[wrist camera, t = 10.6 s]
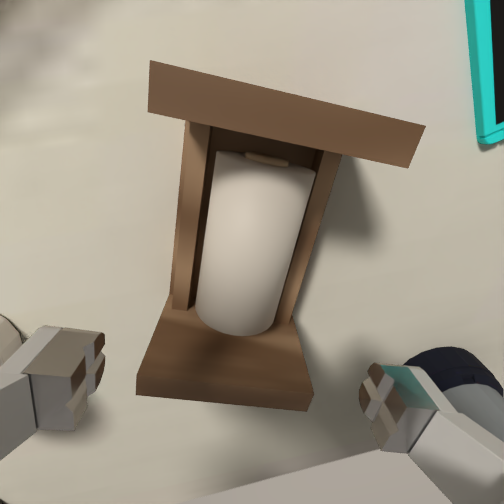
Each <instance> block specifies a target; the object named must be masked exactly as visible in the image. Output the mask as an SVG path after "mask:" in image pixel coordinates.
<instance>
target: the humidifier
mask: <svg viewBox="0 0 504 504" xmlns="http://www.w3.org/2000/svg"><path fill="white" fill-rule="evenodd" d="M404 365H405V366H415V367H420V368H421V369H423V370H424V371H425V372H426V373H427V375H428V376H429V377H430V378H431V380H432V381H433V382H434V383H435V385H436V386H437V387H438V388H439V390H440V391H441V392H442V393H443V395H444V396H445V397H446V398H447V400H448V401H449V402H450V403H451V405H452V406H453V407H454V408H455V410H456V411H457V412H458V413H463V414H464V415H466V416H467V417H469V418H470V419H471V420H473V421H474V422H476V423H477V424H478V425H480V426H481V427H483V428H484V429H486V430H487V431H488V432H490V433H491V434H493V435H494V436H495V437H497V438H498V439H500V440H501V441H503V442H504V398H503V388H502V387H501V385H500V383H499V382H498V381H497V380H496V378H495V377H494V375H493V374H492V373H491V372H490V371H489V370H488V369H487V368H486V367H485V366H484V365H483V364H482V363H481V362H480V361H479V360H478V359H477V358H476V357H475V356H474V355H473V354H472V353H470V352H468V351H466V350H465V349H462V348H456V347H440V348H434V349H431V350H428V351H425V352H422V353H420V354H418V355H416V356H415V357H413V358H411V359H409V360H408V361H407V362H406V363H405V364H404ZM404 365H402V366H404Z"/></svg>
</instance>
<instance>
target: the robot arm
mask: <svg viewBox="0 0 504 504" xmlns="http://www.w3.org/2000/svg"><path fill="white" fill-rule="evenodd" d="M104 345H105V334H103V333H102V332H95V331H88V330H80V329H73V328H66V327H65V328H62V327H55V326H48V325H44V326H42V327H40V328H38V329H37V330H36V331H35V332H34V333H33V334H32V335H31V337H30V338H29V339H28V340H27V341H26V342H25V343H24V344H23V345H22V346H21V347H20V348H19V349H18V350H17V351H16V352H15V353H14V354H13V355H12V356H11V357H10V358H9V359H8V360H7V361H6V362H5V363H4V364H3V365H2V366H1V367H0V460H2V459H3V458H4V457H5V456H7V455H8V454H9V453H10V452H12V451H13V450H14V449H15V448H17V447H18V446H19V445H20V444H22V443H23V442H24V441H25V440H27V439H28V438H29V437H31V436H32V435H33V434H34V433H36V431H37V430H36V429H40V430H67V431H75V429H76V427H77V425H78V423H79V421H80V419H81V417H82V416H83V414H84V412H85V410H86V408H87V397H88V396H89V395H91V394H92V393H94V392H95V391H96V389H97V387H98V385H99V383H100V381H101V378H102V375H103V372H104V366H105V355H104V354H103V353H102V352H101V350H102V348H103V346H104ZM368 374H369V378H367V379H366V380H365V381H363V382H362V384H361V387H360V389H359V401H360V405H361V408H362V410H363V413H364V414H365V415H366V416H367V417H368V418H369V419H370V420H371V421H372V424H371V430H372V432H373V434H374V437H375V439H376V441H377V443H378V445H379V447H380V449H381V451H387V452H397V453H407V454H408V456H409V457H410V458H411V459H412V460H413V461H414V462H415V463H416V464H417V465H418V467H419V468H420V469H421V470H422V471H423V472H424V473H425V474H426V475H427V476H428V477H429V478H430V479H431V481H432V482H433V483H434V484H435V485H436V486H437V487H438V488H439V489H440V490H441V491H442V493H444V494H445V496H446V497H447V498H448V499H449V500H450V501H451V502H452V503H453V504H504V442H503V441H501V440H500V439H498V438H497V437H495V436H494V435H493V434H491V433H490V432H488V431H487V430H486V429H484V428H483V427H481V426H480V425H478V424H477V423H476V422H474V421H473V420H471V419H470V418H469V417H467V416H466V415H464V414H463V413H458V412H457V411H456V410H455V408H454V407H453V406H452V405H451V403H450V402H449V401H448V400H447V398H446V397H445V396H444V395H443V393H442V392H441V391H440V390H439V388H438V387H437V386H436V385H435V383H434V382H433V381H432V380H431V378H430V377H429V376H428V375H427V373H426V372H425V371H424V370H423V369H421V368H420V367H415V366H405V365H404V366H402V365H393V364H383V363H373V364H372V365H371V366H370V368H369V370H368ZM0 504H1V503H0Z"/></svg>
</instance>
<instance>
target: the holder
mask: <svg viewBox="0 0 504 504" xmlns="http://www.w3.org/2000/svg"><path fill="white" fill-rule="evenodd" d="M148 112H150V113H154V114H159V115H163V116H168V117H173V118H177V119H182V120H186V121H185V132H184V143H183V154H182V164H181V175H180V186H179V197H178V207H177V218H176V229H175V239H174V250H173V261H172V272H171V282H170V293H169V297H168V299H167V301H166V304H165V306H164V309H163V311H162V314H161V316H160V319H159V321H158V324H157V326H156V329H155V331H154V334H153V336H152V338H151V341H150V343H149V346H148V348H147V351H146V353H145V356H144V358H143V361H142V363H141V366H140V368H139V371H138V373H137V379H136V395H141V396H151V397H162V398H172V399H182V400H193V401H203V402H213V403H223V404H234V405H244V406H254V407H265V408H275V409H285V410H296V411H306V412H307V410H308V407H309V405H310V402H311V400H312V398H313V395H314V392H313V388H312V384H311V381H310V377H309V374H308V370H307V366H306V363H305V359H304V356H303V352H302V348H301V345H300V341H299V337H298V334H297V330H296V327H295V323H294V319H293V316H292V312H293V308H294V305H295V302H296V299H297V296H298V293H299V289H300V286H301V283H302V280H303V277H304V274H305V271H306V267H307V264H308V261H309V258H310V255H311V252H312V248H313V245H314V242H315V239H316V236H317V233H318V230H319V226H320V223H321V220H322V217H323V214H324V211H325V207H326V204H327V201H328V198H329V195H330V192H331V188H332V185H333V182H334V179H335V176H336V173H337V170H338V166H339V163H340V160H341V157H342V154H344V155H348V156H353V157H357V158H362V159H367V160H371V161H376V162H380V163H385V164H390V165H394V166H399V167H404V168H409V165H410V163H411V160H412V158H413V156H414V153H415V151H416V148H417V146H418V144H419V141H420V139H421V136H422V134H423V132H424V129H425V127H426V126H424V125H420V124H416V123H411V122H407V121H403V120H399V119H395V118H390V117H386V116H382V115H378V114H374V113H369V112H365V111H361V110H357V109H353V108H348V107H344V106H340V105H336V104H332V103H328V102H323V101H319V100H315V99H311V98H307V97H302V96H298V95H294V94H290V93H286V92H281V91H277V90H273V89H269V88H265V87H261V86H256V85H252V84H248V83H244V82H240V81H235V80H231V79H227V78H223V77H219V76H214V75H210V74H206V73H202V72H198V71H193V70H189V69H185V68H181V67H177V66H173V65H168V64H164V63H160V62H156V61H152V60H150V70H149V94H148ZM219 150H226V151H236V152H243V153H246V151H250V152H257V153H263V154H268V155H272V156H276V157H280V158H283V159H286V160H289V162H290V163H293V164H297V165H300V166H303V167H306V168H308V169H311V170H313V171H315V172H316V174H315V178H314V181H313V185H312V188H311V192H310V195H309V199H308V202H307V206H306V209H305V213H304V216H303V220H302V223H301V227H300V230H299V234H298V237H297V241H296V244H295V248H294V251H293V255H292V258H291V262H290V265H289V269H288V272H287V276H286V279H285V283H284V286H283V290H282V293H281V297H280V300H279V304H278V307H277V311H276V314H275V318H274V321H273V323H272V325H271V326H270V327H269V328H268V329H267V330H265V331H264V332H262V333H259V334H256V335H251V336H234V335H229V334H225V333H222V332H219V331H217V330H215V329H213V328H211V327H209V326H208V325H207V324H205V323H204V322H203V321H202V320H201V319H200V318H199V316H198V314H197V312H196V309H195V304H196V296H197V289H198V282H199V275H200V267H201V260H202V253H203V246H204V238H205V231H206V224H207V217H208V209H209V202H210V195H211V188H212V181H213V173H214V166H215V159H216V152H217V151H219Z"/></svg>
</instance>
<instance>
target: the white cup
mask: <svg viewBox="0 0 504 504" xmlns="http://www.w3.org/2000/svg"><path fill="white" fill-rule="evenodd" d="M21 346H22V341H21V338H20V334H19V332H18V331H17V330H16V329H15V328H14V327H13V325H12V324H11V323H10V322H9V321H8V320H7V319H6V318H4V317H3V316H1V315H0V367H1V366H2V365H3V364H4V363H5V362H6V361H7V360H8V359H9V358H10V357H11V356H12V355H13V354H14V353H15V352H16V351H17V350H18V349H19V348H20V347H21Z"/></svg>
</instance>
